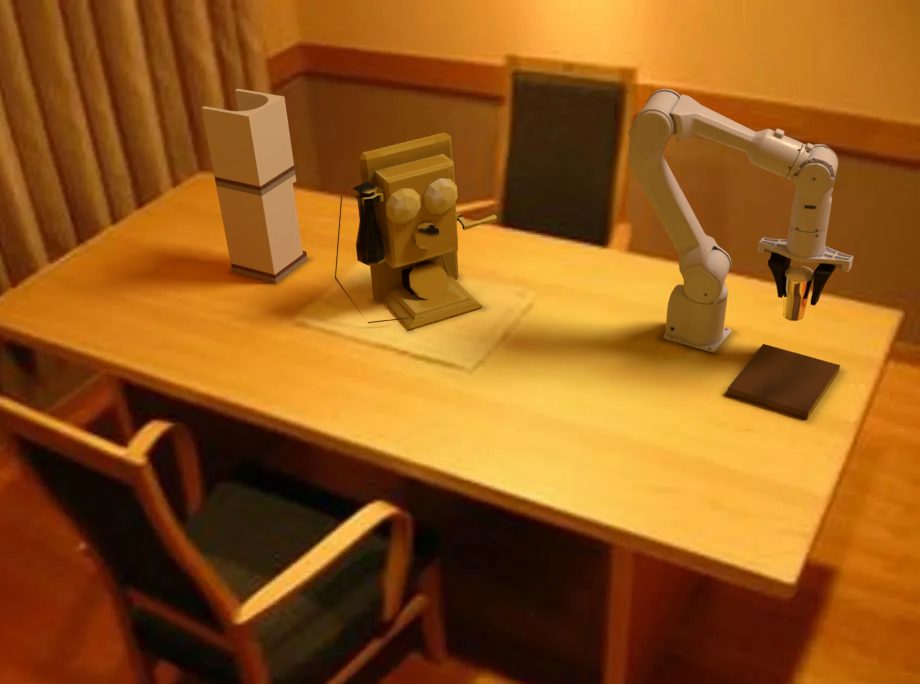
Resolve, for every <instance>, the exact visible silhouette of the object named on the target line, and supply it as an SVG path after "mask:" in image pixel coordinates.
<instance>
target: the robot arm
mask: <svg viewBox="0 0 920 684" xmlns="http://www.w3.org/2000/svg"><path fill="white" fill-rule="evenodd" d="M627 133H628V136H629V146H628V166H629V167H630V169H631V171H632V173H633V174H634V176H635V178H636V180H637V181H638V183H639V186H640V187H641V189H642V191H643V193H644V194H645V197H646V198H647V200H648V201H649V203H650V206H651V207H652V209H653V210H654V212H655V214H656V216H657V218H658V220H659V221H660V224H661V225H662V227H663V228H664V230H665V232H666V234H667V236H668V238H669V239H670V241H671V243H672V245H673V247H674V249H675V250H676V252H677V258H678V259H677V260H678V271H679V273H680V275H681V277H682V279H683V284H677V285H676V286H674V288H673V289H672V291H671V293H670V295H669V297H668V302H667V308H666V319H665V333H664V334H663V335H662V336H663V339H664V340H667V341H670V342H674V343H677V344H680V345H684V346H687V347H692V348H694V349H697V350H701V351H705V352H709V353H713V354H714V353H715V352H717V350H718V349H719V348H720V347H721V346H722V344H723V343H724V342H725V341H726V340H727V338H728V337H729V336H730V335H731V334H732V332H733V330H732V329H731V328H728V327H725V323H726V315H727V314H726V313H727V305H728V298H729V297H728V296H729V289H728V287H727V285H726V283H725V282H726V280H727V277H728V275H729V273H730V272H731V269H732V266H733V265H732V264H733V263H732V258H731V256H730V255H729V253H728V252H727V251H726V250H725V249H723V248H722V247H720V245H718V244H717V242H716V240H715V238H714V237H712V236H710V235H707V234H706V232H705V231H704V229H703V228H702V225H701V224H700V221H699V220H698V218H697V216H696V215H695V212H694V211H693V209H692V206H691V205H690V203H689V202H688V199H687V198H686V195H685V194H684V192H683V190H682V189H681V186H680V185H679V183H678V180H677V179H676V177H675V175H674V174H673V172H672V170H671V168H670V166H669V164H668V162H667V160H666V158H665V157H664V153H665V150H666V148H667V145H668V143H669V142H670V140H671V139H672V137H673V135H675V142H676V143H678V142H682V141H684V140H688V139H690V138H693V137H701V138H705V139H707V140H709V141H712V142H715V143H718V144H721V145H723V146H727V147H728V148H732V149H734V150H737V151H740V152H742V153H745V154H746V156H747V158H748V160H749V163H750V164H751V165H753V166H755V167H758V168H760V169H762V170H766V171H767V172H769V173H772V174H774V175H776V176H778V177H781V178H783V179H786V180H788V181H792V182H793V185H794V187H795V191H794V195H793V197H792V202H791V209H790V210H791V211H790V218H789V226H788V232H787V233H788V234H787V239H783V238H769V237H762V238H761V239H760V241H758V245H757V253H758V254H763V255H764V254H765V253H767V254H770V257H769V259H768V260H767V266H768V268H769V270H770V272H771V273H772V276H773V278H774V282H775V287H776V292H777V293H776V294H777V298H780V299H783V298H784V286H785V271H786V270H787V269H788V268H789V267H790V266H791V263H792V261H794V262H799V263H807V264H808V263H809V264H810V263H811V264H818V266H817V267H816V268H815V269H814V271H813V278H814V279H813V283H812V292H811V297H810V303H809V305H810V306H816V305H817V303H818V302H819V301H820V297H821V295H822V293H823V290H824V288H825V286H826V284H827V282H828V280H829V279H830V277H831V276H832V274H833V273H834V271H835V270H836V269H840V270H841V271H842V272H846V273H848V272H849V271H850V270H851V269H852V267H853V261H854V256H853V255H851V254H850V255H849V254H846V253H843V252H841V251H838V250H836V249H834V248H831V247H829V246H827V245H826V242H827V234H828V227H829V223H830V216H831V210H832V202H833V197H832V195H833V192H834V185H835V182H836V179H835V178H836V176H837V171H838V167H839V158H838V156H837V154H836V152H835V151H834V150H833V149H832V148H830V147H828V146H827V145H826V144H823V143H817V144H812V143H810V142H807V143H803V142H801V141H799V140H796V139H794V138H792V137H789V136H787V135H785V131H784V130H783V129H780V128H776V129H775V130H773V129H771V128H765V129H762V130H758V131H755V130H754V129H751V128H749V127H746V126H744V125H743V124H740V123H739V122H736V121H734V120H733V119H731V118H728V117H726V116H725V115H722V114H720V113H718V112H716V111H715V110H712V109H710V108H708V107H707V106H705V105H702V104H700V103H699V102H698V101H697V100H696V99H694V98H693V97H691V96H689V95H687V94H679V93H678V92H677V91H675V90H673V89H671V88H661V89H658V90H656V91H654V92H652V93H651V94H650V95H649V97H648V98H647V100H646V102H645V104H644V106H643V107H642V109H641V110H640V112H638V114H637V115H636V117H634V120H633V122H632V124H631V126H630V128H629V130H628V132H627Z"/></svg>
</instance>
